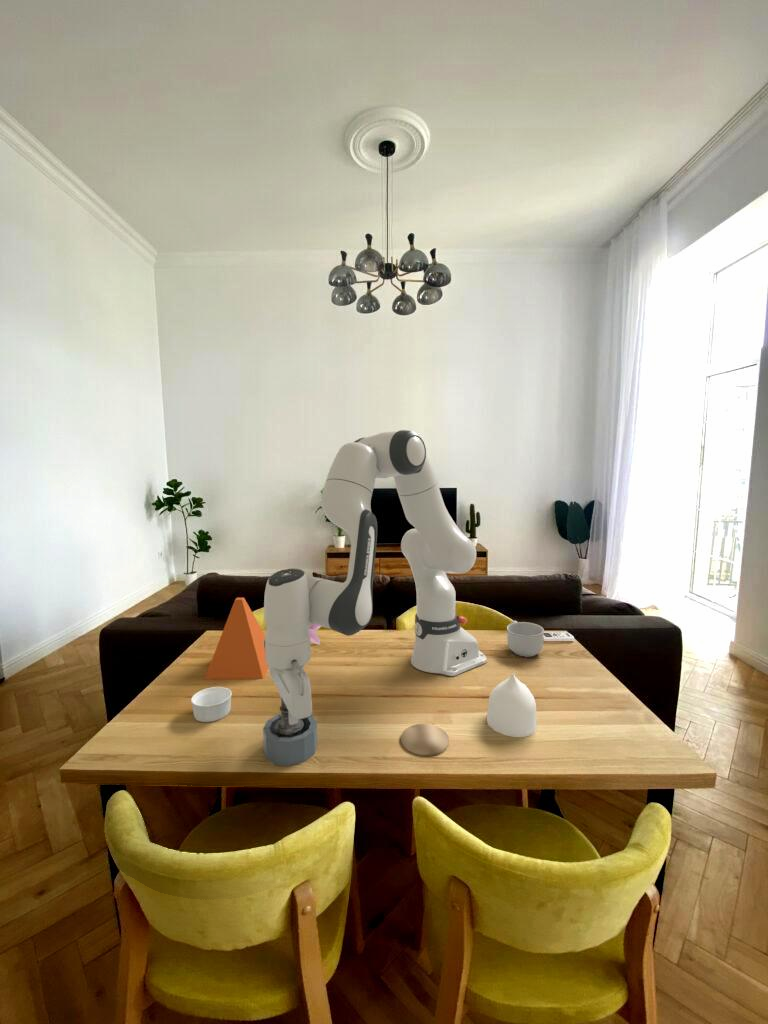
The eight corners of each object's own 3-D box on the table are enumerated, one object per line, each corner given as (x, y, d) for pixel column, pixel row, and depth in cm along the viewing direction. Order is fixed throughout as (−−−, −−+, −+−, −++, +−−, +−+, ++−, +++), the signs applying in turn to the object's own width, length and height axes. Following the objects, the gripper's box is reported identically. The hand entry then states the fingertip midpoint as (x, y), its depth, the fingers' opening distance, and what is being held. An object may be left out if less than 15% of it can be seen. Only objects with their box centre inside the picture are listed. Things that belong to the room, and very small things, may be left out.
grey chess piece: (290, 754, 88) (289, 696, 86) (268, 744, 91) (266, 688, 89) (310, 738, 93) (309, 683, 91) (288, 729, 96) (287, 676, 94)
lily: (278, 651, 141) (286, 629, 137) (284, 624, 151) (291, 604, 147) (315, 659, 144) (324, 639, 139) (318, 633, 154) (327, 612, 150)
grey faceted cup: (307, 728, 99) (307, 706, 98) (323, 755, 90) (322, 732, 89) (259, 741, 94) (259, 718, 94) (270, 771, 85) (270, 747, 84)
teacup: (548, 660, 133) (549, 634, 132) (511, 660, 133) (512, 634, 132) (533, 641, 146) (534, 618, 145) (499, 641, 146) (500, 617, 146)
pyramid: (275, 654, 137) (273, 590, 135) (263, 679, 121) (260, 607, 119) (223, 654, 137) (220, 590, 134) (204, 679, 121) (200, 608, 119)
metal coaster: (432, 722, 101) (432, 719, 101) (458, 747, 92) (458, 744, 92) (392, 733, 97) (392, 731, 97) (416, 761, 88) (416, 758, 88)
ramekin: (191, 707, 107) (190, 690, 107) (230, 700, 111) (230, 683, 110) (191, 728, 99) (190, 709, 99) (234, 719, 103) (233, 701, 102)
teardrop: (531, 743, 94) (533, 689, 92) (480, 728, 99) (481, 676, 98) (541, 717, 103) (543, 667, 102) (493, 704, 109) (495, 657, 107)
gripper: (319, 669, 82) (320, 740, 83) (290, 631, 100) (292, 690, 102) (285, 677, 79) (287, 750, 81) (261, 636, 97) (263, 696, 99)
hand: (289, 716), depth 91 cm, fingers closed on grey chess piece, 3 cm apart
